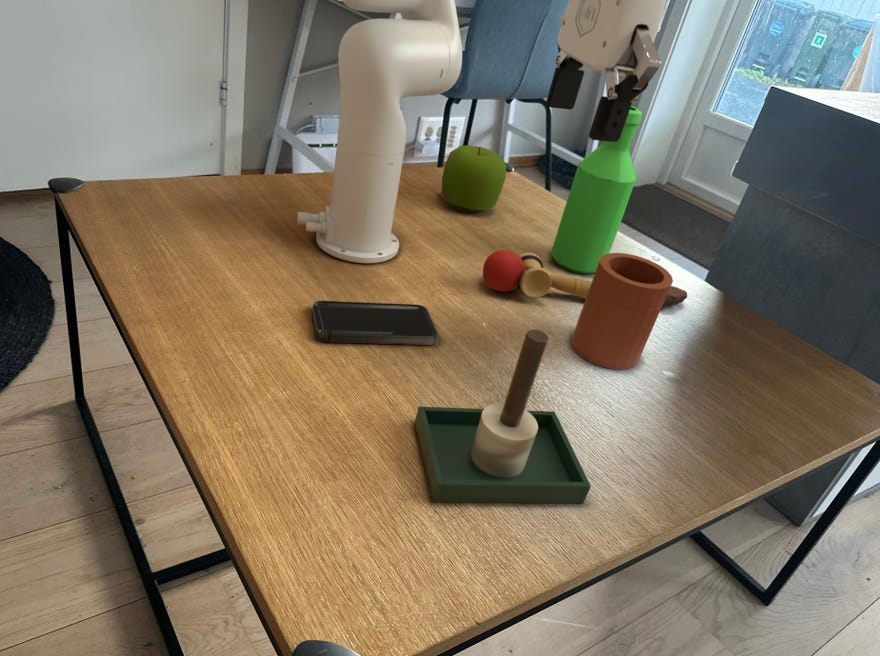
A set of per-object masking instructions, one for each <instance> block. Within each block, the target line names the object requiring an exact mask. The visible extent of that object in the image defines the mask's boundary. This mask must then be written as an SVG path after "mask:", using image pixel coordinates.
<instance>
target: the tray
mask: <svg viewBox="0 0 880 656" xmlns="http://www.w3.org/2000/svg"><path fill="white" fill-rule="evenodd" d="M484 409H485V408H473V407H472V408H470V407H469V408H468V407H446V406H443V407H442V406H441V407H440V406H418V407H417V412H416V415H415V420H414V426H415V430H416V435H417V439H418V443H419V448H420V452H421V457H422V460H423V465H424V470H425V474H426V477H427V481H428V486H429V491H430V496H431V499H432V503H482V504H483V503H489V504H490V503H491V504H493V503H495V504H496V503H498V504H499V503H500V504H501V503H502V504H584V503H585V501H586V499H587V496H588V494H589V491H590V489H591V487H592V486H591V483H590V482H589V479H588V477H587V475H586V474H585V471H584V468H583V467H582V465H581V463H580V460H579V459H578V457H577V455H576V453H575V451H574V449H573V447H572V444H571V442H570V440H569V439H568V436H567V434H566V432H565V430H564V428H563V427H562V424H561V421H560V420H559V418H558V416H557V414H556V412H555V411H551V410H550V411H548V410H527V411H528V412H529V413H530V414H531V415H532V416H533V417H534V418H535V420H536V421H537V424H538V431H537V434H536V437H535V439H534V442H533V445H532V448H531V451H530V453H529V456H528V459H527V462H526V465H525V467H524V470H523V471H522V472H521V473H520V474H519V475H517V476H515V477H510V478H500V477H495V476H492V475H489V474H487V473H485V472H483V471H482V470H481V469H479V468H478V467H477V466H476V465H475V463H474V462H473V460H472V458H471V449H472V445H473V442H474V438H475V435H476V432H477V428H478V425H479V421H480V418H481V414H482V412H483V410H484Z"/></svg>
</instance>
